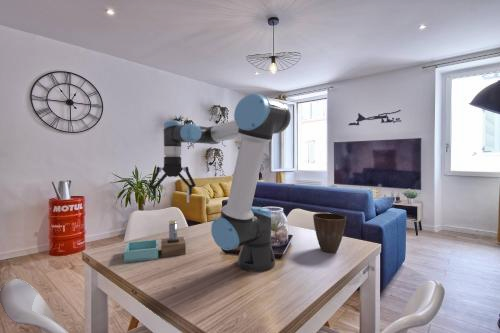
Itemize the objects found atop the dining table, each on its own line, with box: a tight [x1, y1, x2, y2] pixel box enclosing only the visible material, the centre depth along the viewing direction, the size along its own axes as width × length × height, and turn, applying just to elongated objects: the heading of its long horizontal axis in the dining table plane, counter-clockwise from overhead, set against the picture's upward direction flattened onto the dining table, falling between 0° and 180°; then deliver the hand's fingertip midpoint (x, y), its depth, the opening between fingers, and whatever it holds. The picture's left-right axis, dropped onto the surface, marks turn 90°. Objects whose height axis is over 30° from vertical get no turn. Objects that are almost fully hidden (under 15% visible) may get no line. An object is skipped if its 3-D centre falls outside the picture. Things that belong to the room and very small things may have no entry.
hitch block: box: [160, 236, 187, 258], centre depth 118 cm, size 10×10×5 cm
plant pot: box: [312, 212, 347, 253], centre depth 121 cm, size 15×15×16 cm
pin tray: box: [123, 238, 159, 264], centre depth 114 cm, size 13×13×4 cm
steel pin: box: [168, 220, 178, 243], centre depth 118 cm, size 4×4×14 cm
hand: (172, 203), depth 118 cm, fingers open, 13 cm apart
